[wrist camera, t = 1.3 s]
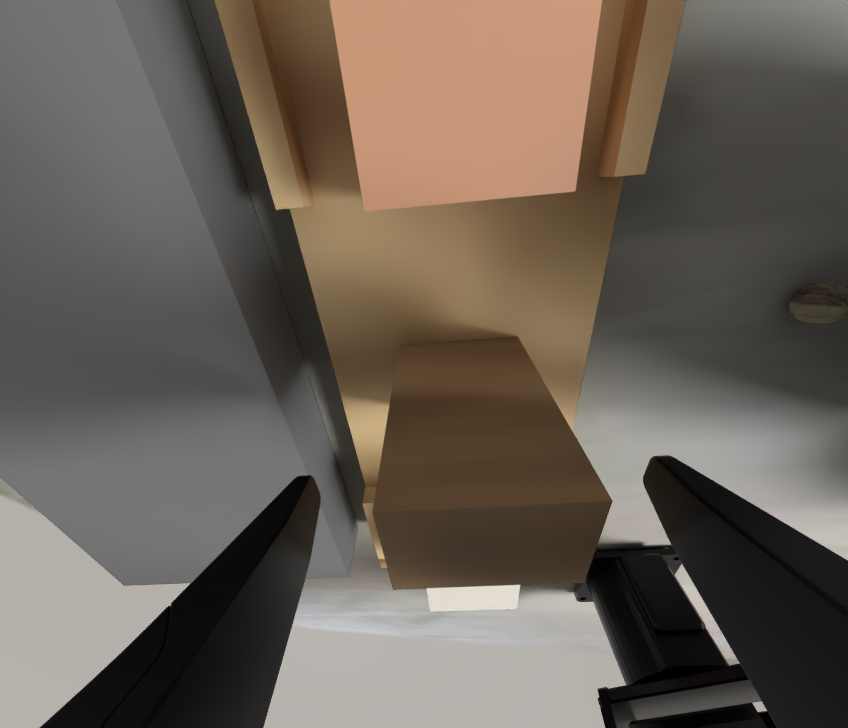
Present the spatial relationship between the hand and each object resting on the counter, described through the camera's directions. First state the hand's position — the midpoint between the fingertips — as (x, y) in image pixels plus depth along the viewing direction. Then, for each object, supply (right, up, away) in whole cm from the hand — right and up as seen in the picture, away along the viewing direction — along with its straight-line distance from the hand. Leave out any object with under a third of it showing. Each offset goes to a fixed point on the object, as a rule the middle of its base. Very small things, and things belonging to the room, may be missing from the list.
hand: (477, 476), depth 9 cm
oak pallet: (0, +4, +6) cm, 7 cm away
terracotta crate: (-1, +10, 0) cm, 10 cm away
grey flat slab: (-14, +3, +6) cm, 16 cm away
